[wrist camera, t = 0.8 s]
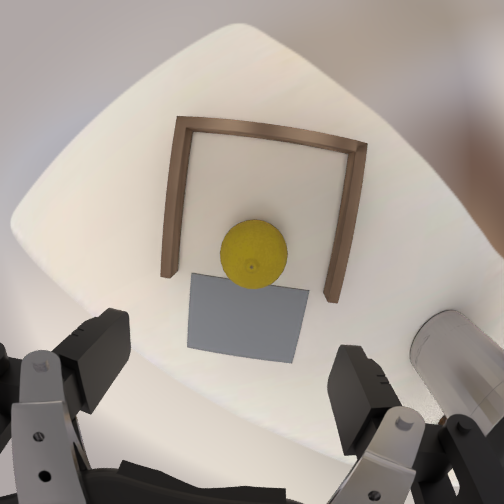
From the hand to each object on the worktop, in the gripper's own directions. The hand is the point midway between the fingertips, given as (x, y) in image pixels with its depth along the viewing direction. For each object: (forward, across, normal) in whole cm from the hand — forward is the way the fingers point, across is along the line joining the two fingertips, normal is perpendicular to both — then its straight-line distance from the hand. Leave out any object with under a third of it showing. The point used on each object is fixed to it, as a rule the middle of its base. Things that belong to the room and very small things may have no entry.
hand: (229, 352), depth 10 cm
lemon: (+19, 0, 0) cm, 19 cm away
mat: (+18, 0, +8) cm, 20 cm away
